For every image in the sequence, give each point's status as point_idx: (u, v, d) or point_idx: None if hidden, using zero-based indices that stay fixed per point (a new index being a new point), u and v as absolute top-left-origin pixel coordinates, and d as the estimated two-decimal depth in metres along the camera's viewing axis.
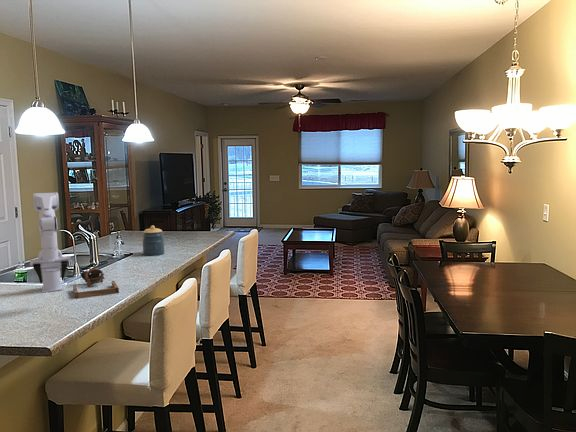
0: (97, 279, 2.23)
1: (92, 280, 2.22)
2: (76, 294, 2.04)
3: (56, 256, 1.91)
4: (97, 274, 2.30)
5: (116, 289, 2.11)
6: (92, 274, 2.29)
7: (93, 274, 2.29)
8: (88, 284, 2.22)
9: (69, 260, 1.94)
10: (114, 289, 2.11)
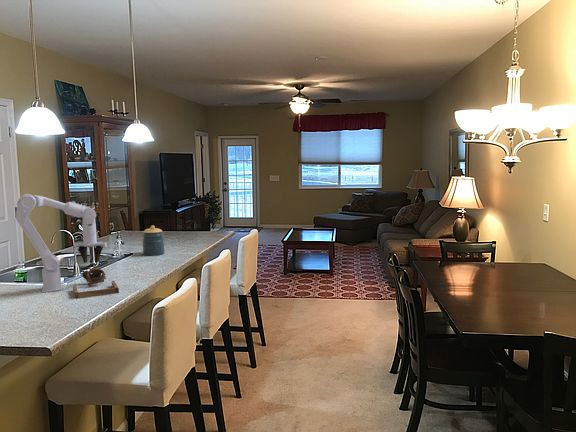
0: (98, 279, 2.23)
1: (94, 280, 2.22)
2: (76, 294, 2.04)
3: (93, 241, 2.23)
4: (98, 274, 2.31)
5: (116, 289, 2.11)
6: (93, 274, 2.30)
7: (94, 274, 2.30)
8: (89, 284, 2.23)
9: (104, 245, 2.24)
10: (114, 289, 2.11)
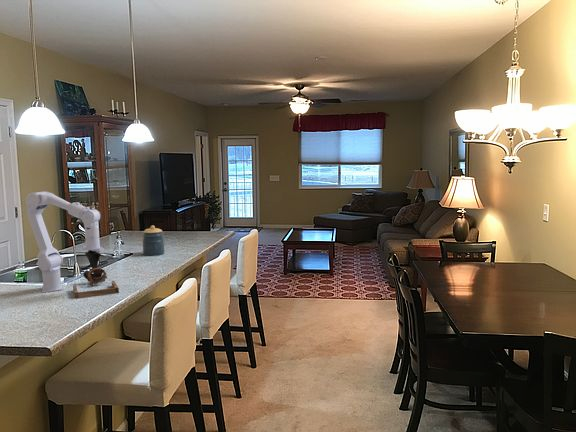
0: (100, 278, 2.24)
1: (95, 279, 2.23)
2: (76, 294, 2.04)
3: (91, 246, 2.10)
4: (99, 273, 2.31)
5: (116, 289, 2.11)
6: (94, 273, 2.30)
7: (95, 273, 2.31)
8: (91, 283, 2.23)
9: (99, 252, 2.08)
10: (114, 289, 2.11)
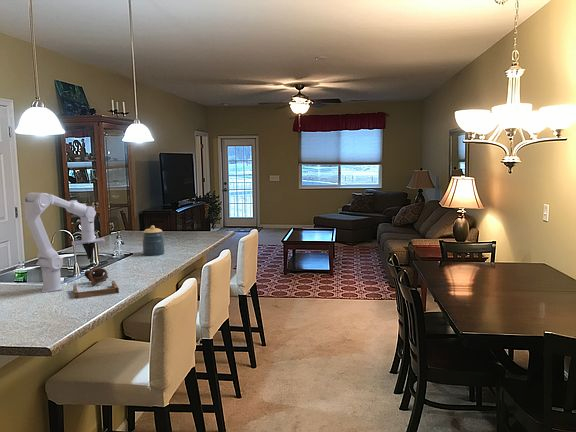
0: (101, 278, 2.24)
1: (96, 279, 2.24)
2: (76, 294, 2.04)
3: (93, 238, 2.33)
4: (100, 273, 2.32)
5: (116, 289, 2.11)
6: (96, 273, 2.31)
7: (97, 273, 2.31)
8: (92, 283, 2.24)
9: (103, 241, 2.36)
10: (114, 289, 2.11)
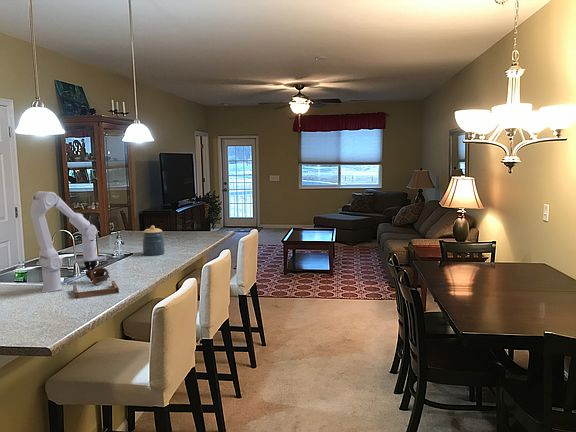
0: (102, 278, 2.25)
1: (98, 279, 2.24)
2: (76, 294, 2.04)
3: (94, 256, 2.31)
4: (102, 273, 2.32)
5: (116, 289, 2.11)
6: (97, 273, 2.32)
7: (98, 273, 2.32)
8: (94, 283, 2.25)
9: (105, 259, 2.34)
10: (114, 289, 2.11)
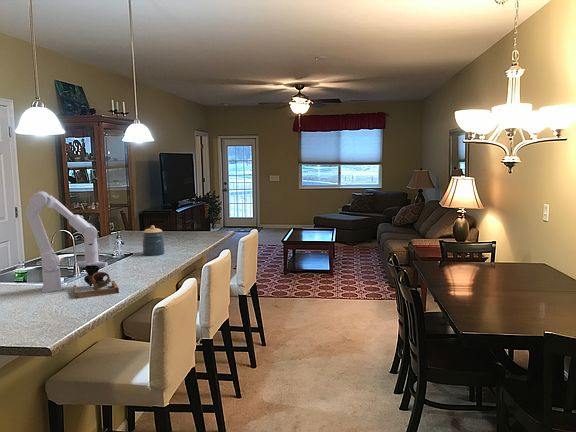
0: (105, 282, 2.16)
1: (100, 283, 2.15)
2: (76, 294, 2.04)
3: (93, 261, 2.21)
4: (101, 277, 2.23)
5: (116, 289, 2.11)
6: (96, 278, 2.22)
7: (97, 277, 2.22)
8: (95, 288, 2.15)
9: (104, 265, 2.21)
10: (114, 289, 2.11)
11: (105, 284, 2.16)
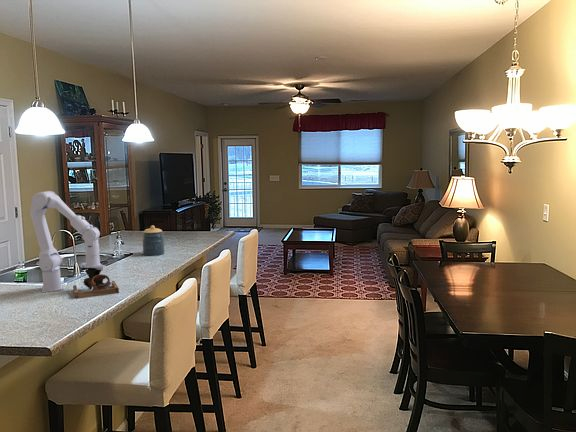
0: (105, 285, 2.11)
1: (100, 286, 2.10)
2: (76, 294, 2.04)
3: (93, 263, 2.15)
4: (100, 280, 2.18)
5: (116, 289, 2.11)
6: (95, 280, 2.16)
7: (96, 280, 2.17)
8: None
9: (102, 269, 2.14)
10: (114, 289, 2.11)
11: (105, 287, 2.11)
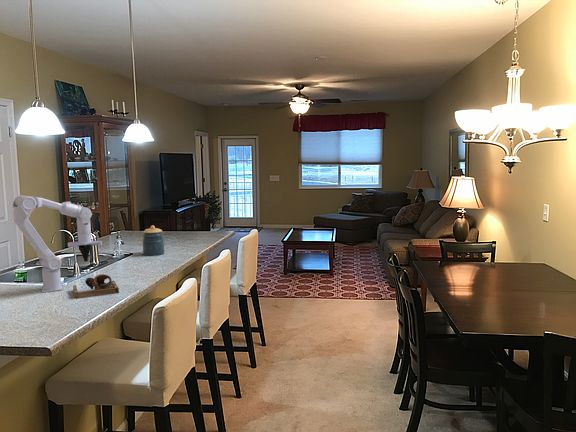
0: (107, 285, 2.12)
1: (102, 286, 2.11)
2: (76, 294, 2.04)
3: (89, 240, 2.26)
4: (102, 280, 2.19)
5: (116, 289, 2.11)
6: (97, 280, 2.17)
7: (98, 280, 2.18)
8: None
9: (100, 244, 2.28)
10: (114, 289, 2.11)
11: (107, 287, 2.12)
